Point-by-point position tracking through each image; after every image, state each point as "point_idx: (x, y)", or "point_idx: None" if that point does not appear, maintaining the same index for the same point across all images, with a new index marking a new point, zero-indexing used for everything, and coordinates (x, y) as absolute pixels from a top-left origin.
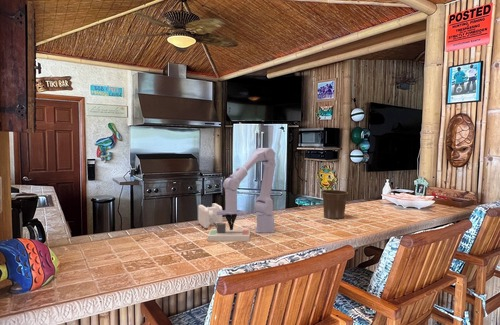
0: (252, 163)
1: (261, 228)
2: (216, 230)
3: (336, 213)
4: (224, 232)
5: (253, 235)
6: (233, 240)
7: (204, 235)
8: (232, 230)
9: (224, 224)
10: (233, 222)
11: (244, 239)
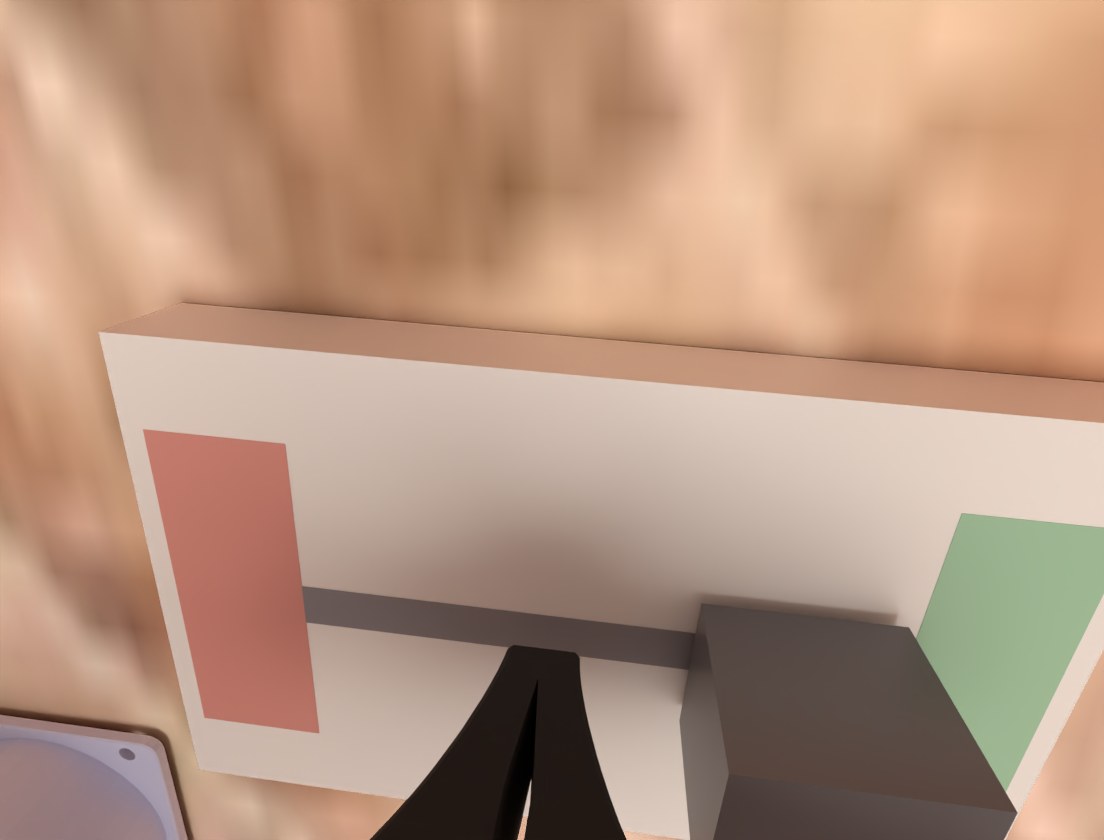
0: None
1: (29, 793)
2: None
3: None
4: (716, 606)
5: None
6: (510, 333)
7: (1090, 729)
8: None
9: (744, 811)
10: (424, 808)
11: (263, 320)
